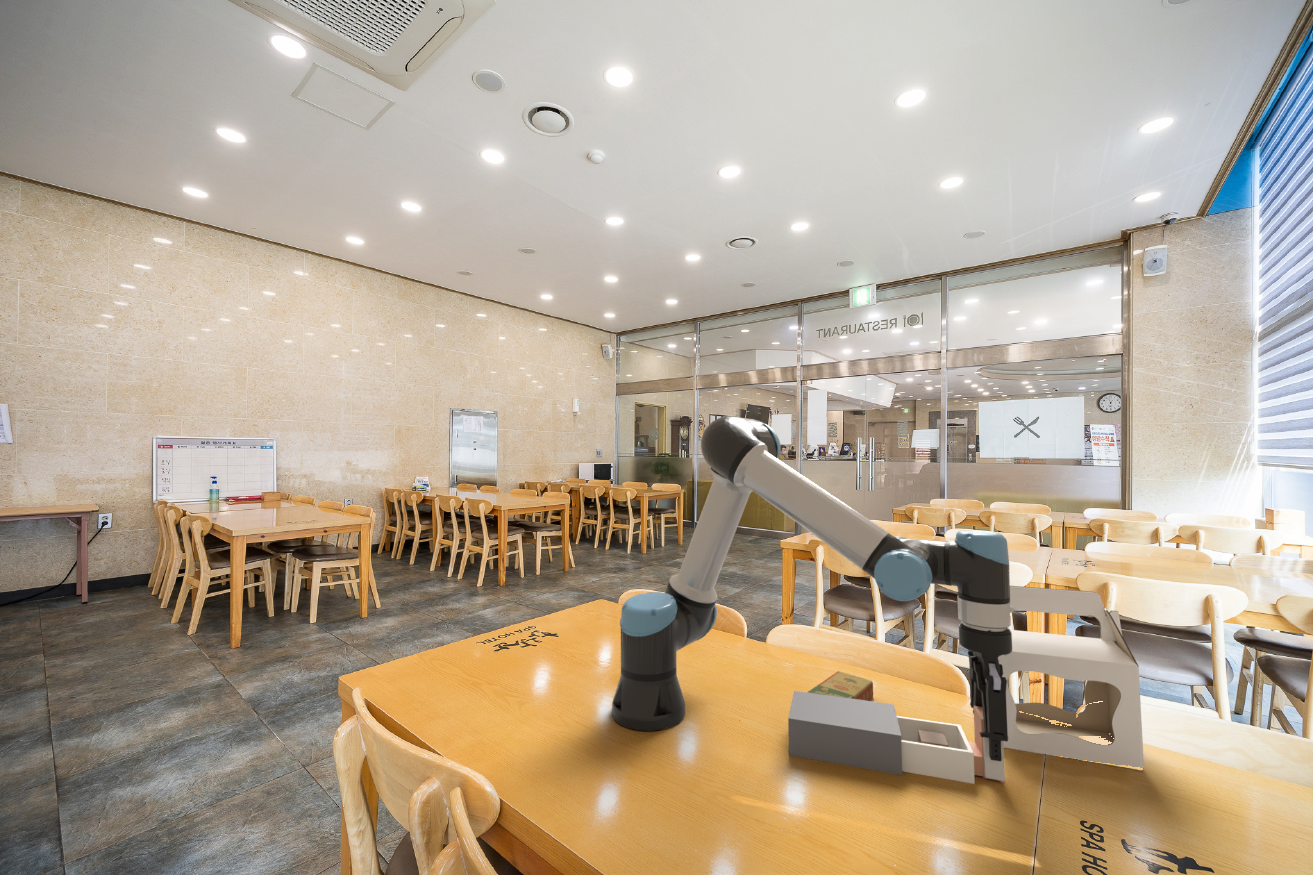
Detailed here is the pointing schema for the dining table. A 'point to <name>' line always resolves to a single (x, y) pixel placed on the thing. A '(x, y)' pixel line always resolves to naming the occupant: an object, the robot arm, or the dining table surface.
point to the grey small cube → (932, 738)
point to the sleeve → (845, 732)
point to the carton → (845, 687)
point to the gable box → (1076, 660)
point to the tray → (943, 749)
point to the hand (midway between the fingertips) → (989, 767)
